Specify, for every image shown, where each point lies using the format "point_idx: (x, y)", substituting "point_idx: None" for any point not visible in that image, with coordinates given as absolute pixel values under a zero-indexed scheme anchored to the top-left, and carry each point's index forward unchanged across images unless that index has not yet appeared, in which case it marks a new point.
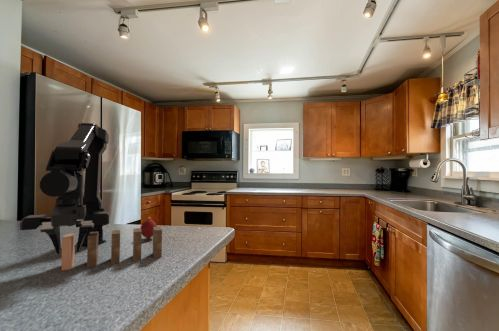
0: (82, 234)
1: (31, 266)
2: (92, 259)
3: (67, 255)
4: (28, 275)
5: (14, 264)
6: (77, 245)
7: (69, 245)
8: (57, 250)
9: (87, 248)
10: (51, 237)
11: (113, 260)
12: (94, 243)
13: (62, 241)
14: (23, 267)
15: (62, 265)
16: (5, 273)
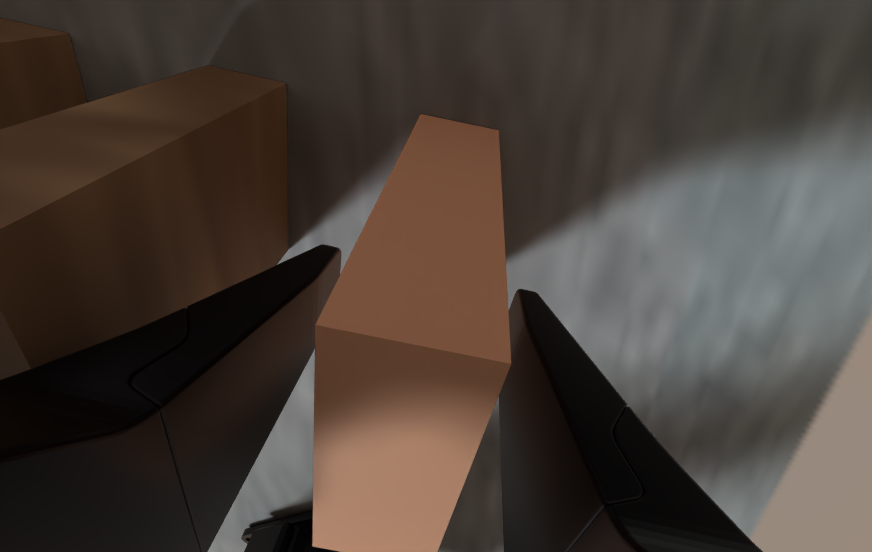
0: (100, 374)
1: (668, 372)
2: (199, 88)
3: (437, 176)
4: (757, 169)
5: (734, 460)
6: (300, 282)
7: (390, 236)
8: (540, 316)
9: (166, 146)
10: (689, 494)
11: (16, 32)
12: (6, 147)
13: (496, 309)
14: (715, 381)
15: (492, 142)
16: (855, 330)
